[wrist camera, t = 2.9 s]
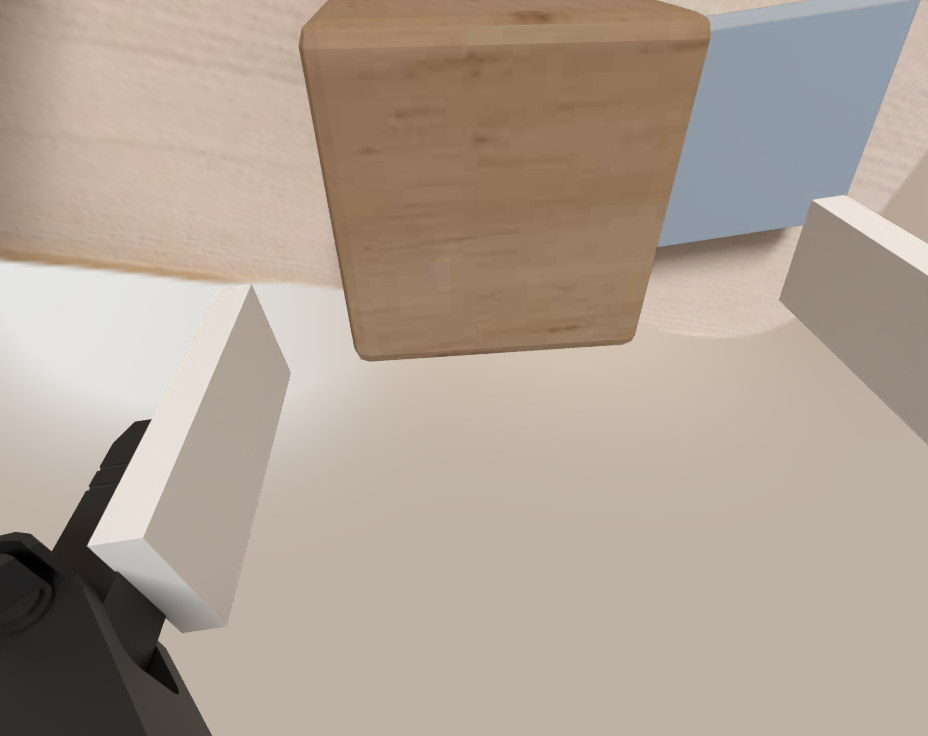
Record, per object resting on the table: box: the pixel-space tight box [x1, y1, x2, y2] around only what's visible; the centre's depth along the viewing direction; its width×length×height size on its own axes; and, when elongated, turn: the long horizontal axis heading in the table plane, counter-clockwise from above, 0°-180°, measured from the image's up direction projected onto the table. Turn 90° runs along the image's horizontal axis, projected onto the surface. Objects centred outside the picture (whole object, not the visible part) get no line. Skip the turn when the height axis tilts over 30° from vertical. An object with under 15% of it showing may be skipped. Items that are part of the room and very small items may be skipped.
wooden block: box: [299, 0, 711, 361], centre depth 23 cm, size 10×10×20 cm
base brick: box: [657, 0, 920, 247], centre depth 32 cm, size 12×12×4 cm
